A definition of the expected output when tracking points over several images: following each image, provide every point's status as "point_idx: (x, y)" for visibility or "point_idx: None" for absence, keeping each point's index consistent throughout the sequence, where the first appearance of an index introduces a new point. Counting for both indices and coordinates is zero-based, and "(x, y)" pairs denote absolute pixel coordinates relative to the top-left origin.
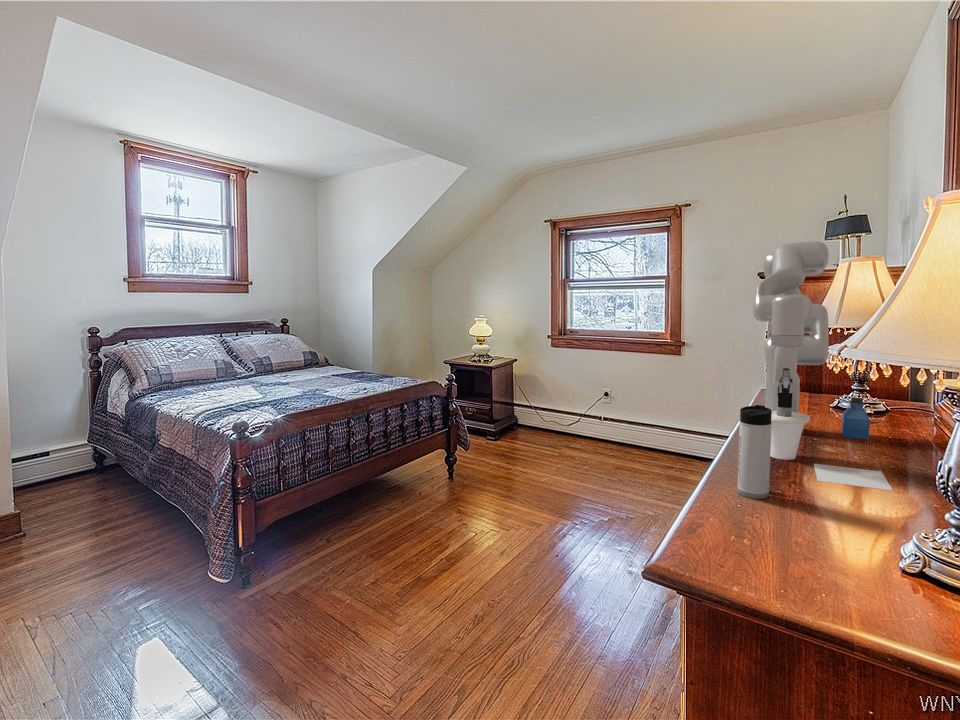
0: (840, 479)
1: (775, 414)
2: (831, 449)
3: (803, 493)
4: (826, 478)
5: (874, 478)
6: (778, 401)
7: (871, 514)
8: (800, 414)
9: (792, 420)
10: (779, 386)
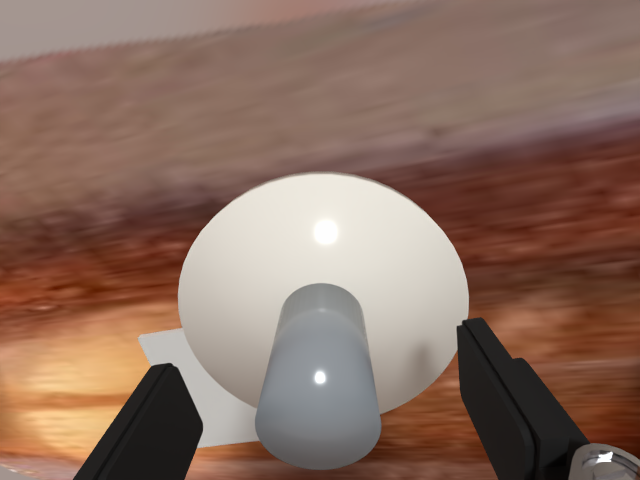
0: (190, 375)
1: (316, 277)
2: (519, 330)
3: (31, 319)
4: (173, 351)
5: (254, 424)
6: (129, 402)
7: (28, 421)
8: (398, 382)
9: (206, 371)
10: (558, 450)
